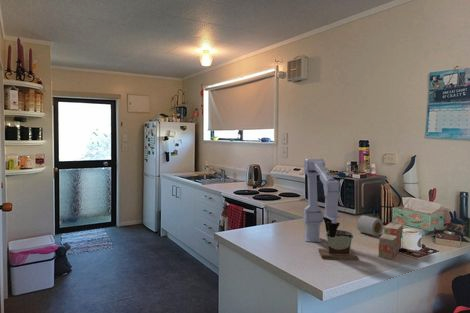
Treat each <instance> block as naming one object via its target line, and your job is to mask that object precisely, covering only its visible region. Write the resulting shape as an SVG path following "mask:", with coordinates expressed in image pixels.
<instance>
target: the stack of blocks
mask: <svg viewBox="0 0 470 313" xmlns="http://www.w3.org/2000/svg"><path fill="white" fill-rule="evenodd" d="M403 227H404V225H403V224H401V223H393V222H389V223H387V224H386V225H385V226H383V233H382V234H381V236H380V237H379V241H378V257H380V258H383V259H387V260H393V259H394V258H395V257H396V256H397V254H398V253H399V252H400V251H399V249H400V247H401V238H402V239H403V235H402V232H403V231H404V230H403V229H404V228H403ZM398 251H399V252H398ZM397 252H398V253H397ZM395 255H396V256H395ZM393 257H394V258H393Z"/></svg>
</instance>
